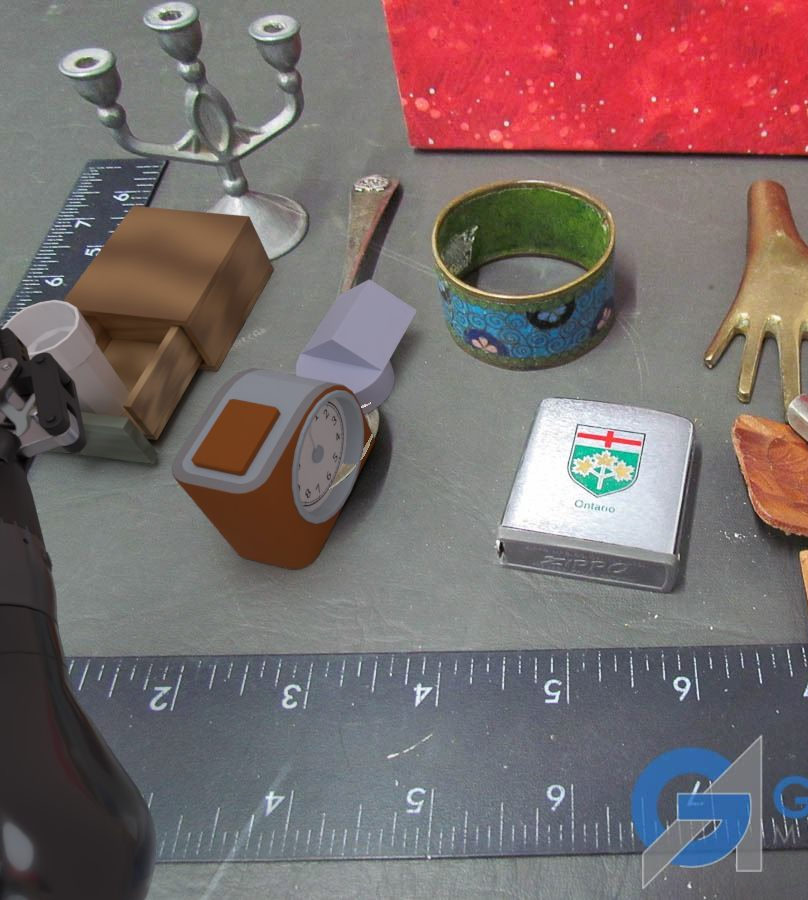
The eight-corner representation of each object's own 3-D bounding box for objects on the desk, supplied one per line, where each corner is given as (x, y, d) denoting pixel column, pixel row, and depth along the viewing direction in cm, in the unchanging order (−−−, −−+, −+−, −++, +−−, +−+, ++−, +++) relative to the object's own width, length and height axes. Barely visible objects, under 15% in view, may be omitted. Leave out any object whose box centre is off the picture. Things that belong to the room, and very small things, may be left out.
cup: (106, 439, 79) (39, 364, 70) (55, 418, 80) (-18, 342, 71) (153, 390, 82) (95, 312, 73) (103, 370, 84) (40, 292, 75)
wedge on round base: (347, 317, 90) (290, 408, 83) (329, 271, 84) (266, 364, 77) (423, 332, 88) (372, 426, 81) (410, 287, 83) (353, 383, 76)
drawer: (147, 474, 78) (116, 438, 73) (28, 459, 79) (-11, 423, 74) (217, 350, 86) (193, 311, 82) (108, 338, 88) (78, 299, 83)
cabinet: (217, 371, 86) (185, 321, 80) (98, 358, 87) (57, 307, 81) (274, 268, 95) (249, 216, 88) (164, 258, 96) (132, 205, 90)
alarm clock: (313, 575, 72) (256, 494, 61) (226, 555, 73) (155, 472, 62) (379, 441, 80) (339, 348, 69) (299, 425, 82) (248, 331, 70)
